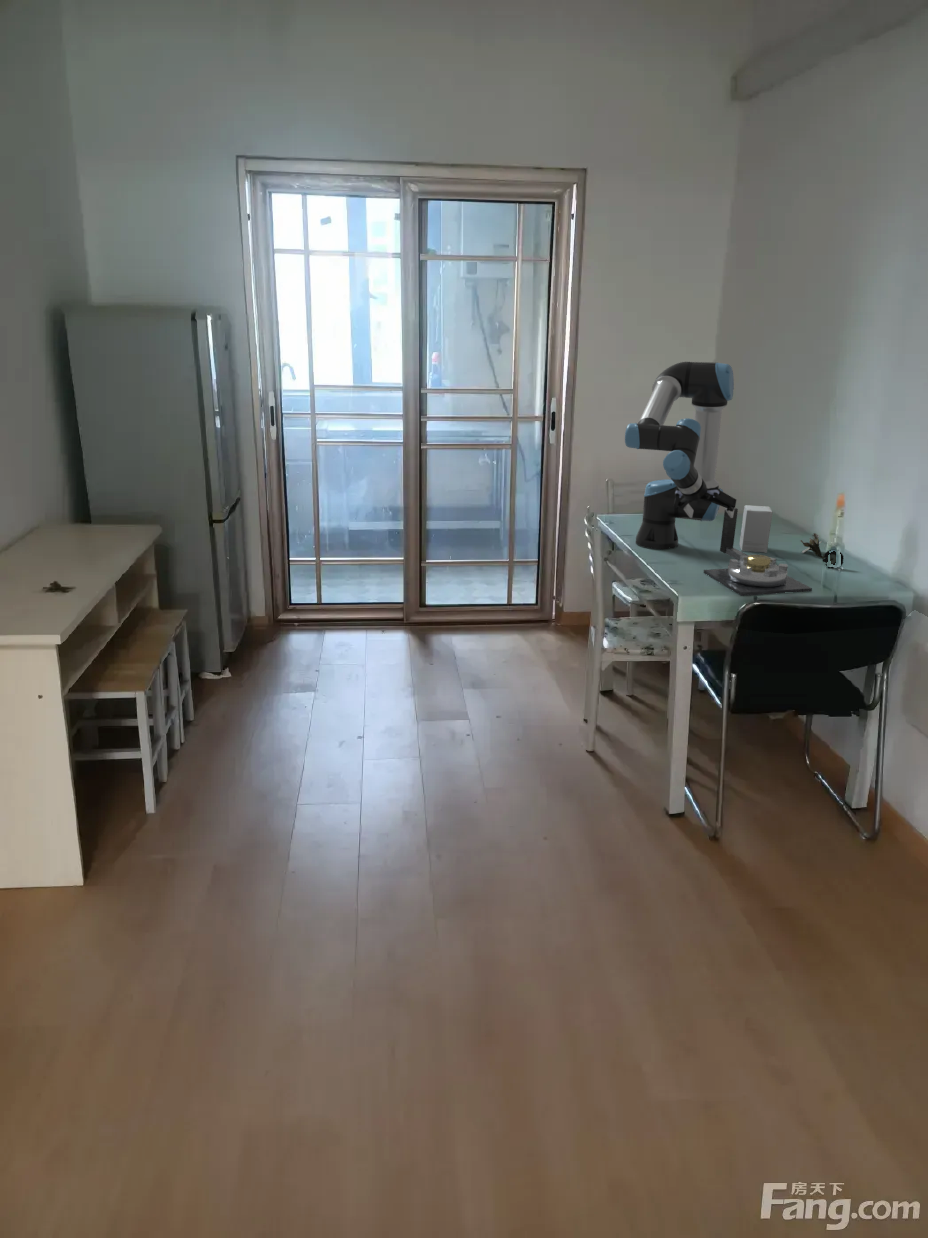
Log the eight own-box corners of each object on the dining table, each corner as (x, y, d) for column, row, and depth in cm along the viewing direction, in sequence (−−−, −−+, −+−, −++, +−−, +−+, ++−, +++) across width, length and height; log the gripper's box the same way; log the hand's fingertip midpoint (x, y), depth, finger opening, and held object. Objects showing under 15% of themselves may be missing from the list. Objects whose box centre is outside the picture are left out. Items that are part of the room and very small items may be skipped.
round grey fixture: (797, 584, 275) (806, 528, 269) (745, 588, 271) (752, 530, 265) (746, 557, 303) (753, 506, 297) (698, 560, 299) (704, 507, 293)
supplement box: (767, 553, 314) (773, 511, 309) (741, 551, 316) (746, 510, 311) (764, 546, 323) (770, 506, 317) (739, 544, 324) (744, 504, 319)
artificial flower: (818, 572, 298) (813, 544, 296) (800, 561, 320) (795, 534, 318) (845, 566, 297) (840, 537, 295) (825, 556, 318) (820, 529, 316)
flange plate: (703, 572, 290) (706, 549, 288) (769, 569, 296) (772, 545, 293) (740, 595, 268) (744, 570, 266) (811, 591, 274) (815, 566, 271)
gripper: (650, 495, 279) (673, 524, 296) (728, 494, 265) (748, 524, 281) (655, 474, 281) (677, 503, 297) (733, 472, 266) (752, 503, 283)
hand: (711, 514), depth 289 cm, fingers open, 13 cm apart
